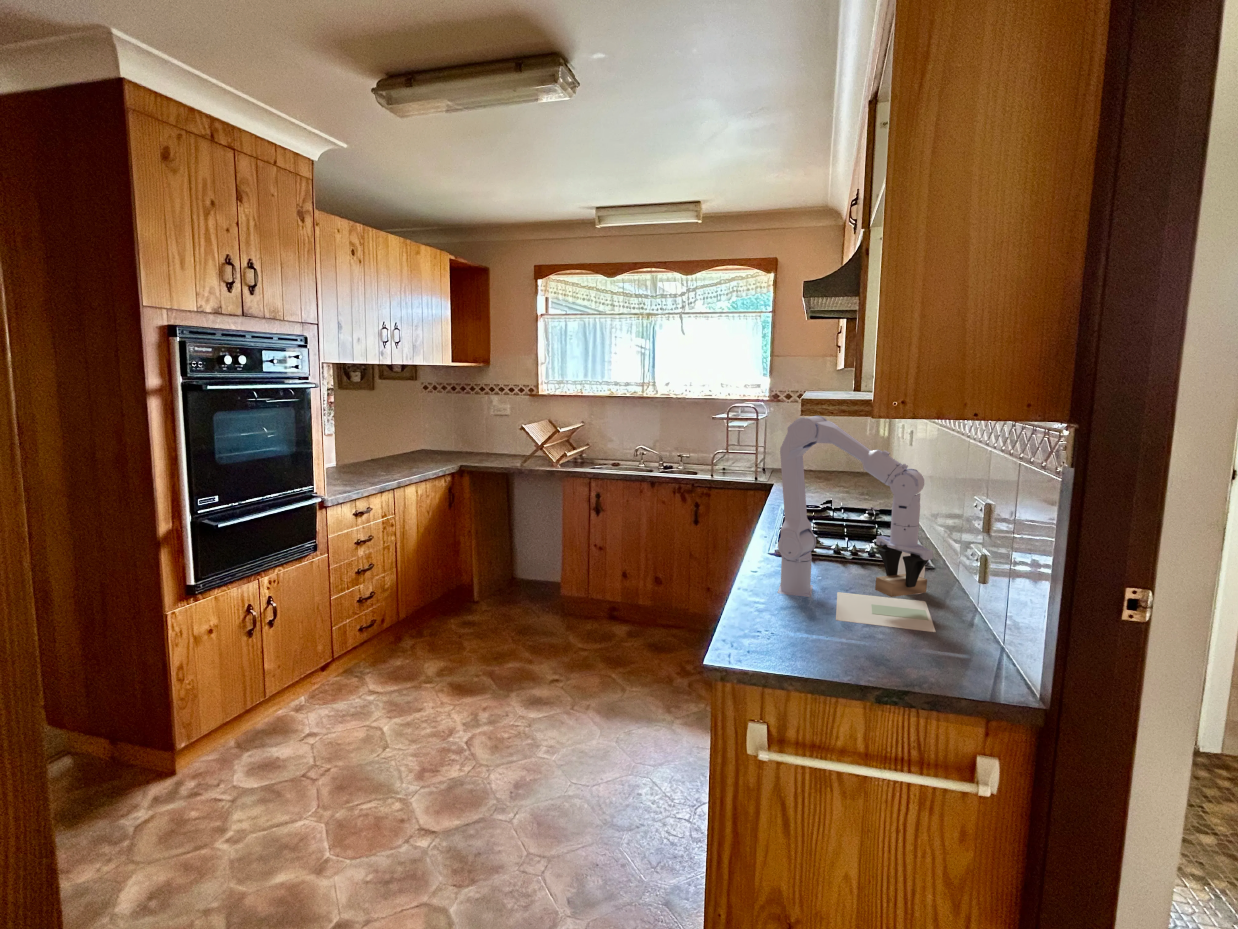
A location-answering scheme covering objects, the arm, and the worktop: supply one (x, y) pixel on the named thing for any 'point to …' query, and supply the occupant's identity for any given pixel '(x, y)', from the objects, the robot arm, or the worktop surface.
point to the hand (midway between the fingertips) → (901, 582)
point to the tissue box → (899, 585)
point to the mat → (884, 611)
